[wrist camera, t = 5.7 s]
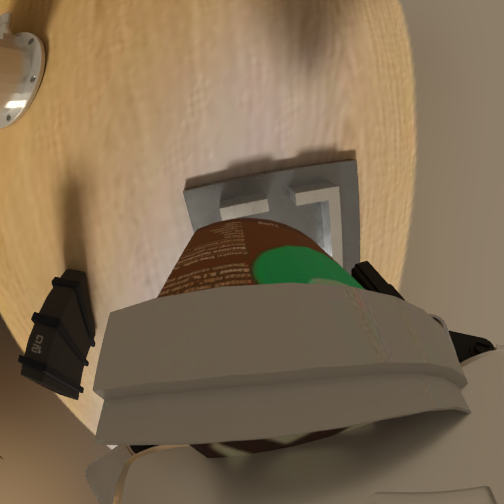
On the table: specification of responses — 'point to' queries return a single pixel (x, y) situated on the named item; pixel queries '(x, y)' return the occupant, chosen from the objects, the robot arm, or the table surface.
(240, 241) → the food container
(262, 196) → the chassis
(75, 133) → the table surface
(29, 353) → the black tall block
